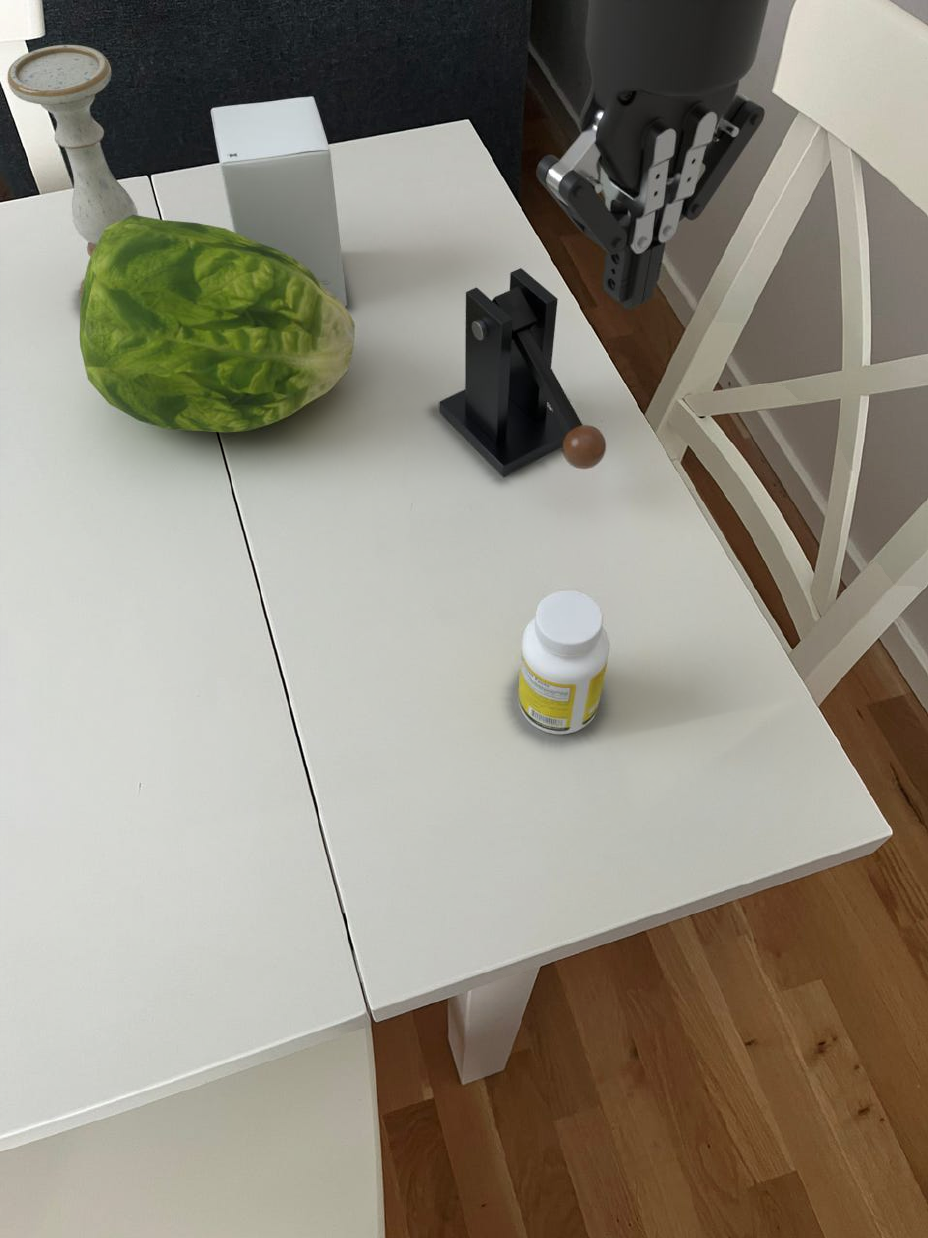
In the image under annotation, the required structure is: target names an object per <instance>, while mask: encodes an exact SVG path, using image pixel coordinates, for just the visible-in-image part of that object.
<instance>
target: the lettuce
mask: <svg viewBox="0 0 928 1238" xmlns="http://www.w3.org/2000/svg"><path fill="white" fill-rule="evenodd" d="M84 279H85V281H84V286H83V292H82V297H81V300H80V310H79V311H80V313H79V314H80V315H79V347H80V351H81V356H82V359H83V360H82V361H83V365H84V368H85V373H86V377H87V380H88V381H89V382H90V383H91V385H92V386H93V388H95V389H96V390H97V392H98V393H99V394H100V395H101V396H102V397H103V398H104V400H105V401H106V402H107V403H108V404H109V405H111V406H112V407H114V408H116V409H118V410H119V411H121V412H123V413H125V414H126V415H128V416H130V417H132V418H133V419H135V420H137V421H139V422H142V423H146V424H149V425H153V426H156V427H159V428H163V429H166V430H177V431H192V432H193V431H194V432H195V431H196V432H211V433H227V434H228V433H237V432H248V431H252V430H255V429H259V428H262V427H266V426H269V425H272V424H274V423H276V422H279V421H281V420H284V419H285V418H288V417H290V416H291V415H293V414H294V413H296V412H297V411H299V410H300V409H302V408H303V407H304V406H306V405H307V404H309V403H311V402H313V401H315V400H316V399H318V398H320V397H321V396H324V395H325V394H327V393H328V392H329V391H330V390H331V389H332V388H334V387H335V386H336V385H337V384H338V383H339V382H340V380H341V379H342V378H343V377H344V376H345V374H346V373H347V371H348V370H349V367H350V364H351V360H352V355H353V352H354V344H355V337H356V336H355V335H356V324H355V321H354V319H353V318H352V316H351V314H350V313H349V311H348V310H347V308H346V306H345V307H344V305H343V304H342V303H341V302H340V301H339V300H338V299H337V298H336V297H335V296H333V295H332V294H331V293H330V292H329V291H328V290H326V289H325V288H324V287H323V286H322V284H321V283H320V282H319V281H318V280H317V278H316V277H315V276H314V275H313V274H312V272H311V271H310V270H308V269H307V268H306V267H304V266H303V265H302V264H300V263H299V262H298V261H296V260H295V259H294V258H292V257H290V256H288V255H286V254H284V253H282V252H280V251H278V250H276V249H274V248H271V247H268V246H266V245H263V244H260V243H257V242H255V241H252V240H250V239H248V238H245V237H243V236H241V235H239V234H236V233H234V232H233V230H230V229H227V228H224V227H220V226H214V225H208V224H203V223H198V222H188V221H177V220H166V219H165V220H164V219H160V218H153V217H148V216H143V215H138V216H137V215H131V216H129V217H127V218H125V219H123V220H121V221H119V222H117V223H114V224H112V225H110V226H108V227H106V228H105V230H104V232H103V234H102V236H101V238H100V240H99V242H98V244H97V246H96V247H95V249H94V251H93V253H92V255H91V257H90V256H89V260H88V262H87V266H86V271H85V276H84Z"/></svg>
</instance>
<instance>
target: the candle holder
mask: <svg viewBox="0 0 928 1238" xmlns="http://www.w3.org/2000/svg"><path fill="white" fill-rule="evenodd" d="M112 75H113V70H112V67H111V63H110V62H109V60H108V59H107V57H106V56H105V55H104V54H103V53H102V52H100V50H97V49H95V48H93V47H89V46H85V45H78V44H58V45H50V46H45V47H42V48H37V49H35V50H31V51H30V52H27V53H25V54H23V55H21V56H19V58H17V59H15V60H14V61H13V62H12V63H11V65H10V67H8V71H7V84H8V87H9V90H10V91H11V92H12V93H13V95H14V96H15V97H17V98H19V99H20V100H22V101H25V102H27V103H32V104H35V105H36V104H37V105H40V107H41V108H43V109H44V110H45V111H47V112H49V113H50V114H51V115H53V117H54V119H55V120H56V128H55V132H54V135H53V136H54V141H55V143H56V144H57V145H58V146H60V147H62V148H63V149H64V150H65V152H66V154H67V157H68V162H69V165H70V168H71V172H72V176H73V177H72V178H73V193H72V198H71V199H72V200H71V218H72V223H73V226H74V228H75V230H76V231H77V232H78V234H79V235H80V236H81V237H82V238H83V239H84V240H85V241H87V242H88V243H87V246H86V251H87V252H86V253H87V254H88V257H89V258H90V257H91V255H92V253H93V251H94V249H95V247H96V246H97V244H98V242H99V240H100V238H101V236H102V234H103V232H104V230H105V228H106V227H108V226H110V225H112V224H114V223H117V222H119V221H121V220H123V219H125V218H127V217H129V216H131V215H137V216H139V211H138V207H137V206H136V203H135V202H134V200H133V198H132V197H131V195H130V193H128V191H126V189H125V188H124V187H123V186H122V185H121V184H120V183H119V181H118V180H117V179H116V177H115V176H114V174H113V173H112V171H111V169H110V167H109V165H108V162H107V160H106V157H105V154H104V151H103V148H102V143H101V140H102V139H103V138H104V135H105V130H104V128H103V127H102V125H100V124H99V123H98V122H97V121H96V120H95V119H94V118H93V116H92V114H91V106H92V104H93V102H94V101H95V98H96V94H98V93H99V92H101V91H103V90H104V89H105V88H106V87H108V84H109V83H110V82H111V80H112ZM84 281H85V278H84V279H83V280H82V281H81V284H80V286H79V289H78V296H79V300H80V301H81V297H82V292H83V286H84Z"/></svg>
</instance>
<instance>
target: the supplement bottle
mask: <svg viewBox="0 0 928 1238" xmlns="http://www.w3.org/2000/svg"><path fill="white" fill-rule="evenodd" d="M603 625H604V614H603V612H602V609H601V607H600V605H599V604H598V602H597V601H596V600H595V599H594V598H592V597H591V596H590V595H588V594H586V593H584V592H581V591H579V590H573V589H562V590H557V591H554V592H551V593H550V594H548V595H547V596H545V597H544V598H543V599H542V600H541V601H540V602H539V604H538V605H537V609H536V611H535V617H533V618H531V620H530V621H529V623H528V624H527V626H526V627H525V630H524V631H523V635H522V641H521V649H520V650H521V651H520V661H519V677H518V678H519V679H518V704H519V708H520V711H521V713H522V714H523V715H524V718H525V719H526V721H528V722H529V723H530V725H533V727H535V728H536V729H538V730H540V731H543V732H545V733H547V734H548V733H549V734H553V735H567V734H572V733H576V732H579V731H580V730H582V729H583V728H585V727H586V726H588V725H589V724H590V723H591V722H592V720H594V718H595V716H596V714H597V712H598V709H599V706H600V701H601V695H602V691H603V687H604V686H603V685H604V681H605V676H606V671H607V666H608V662H609V656H610V640H609V635H608V633H607V631H606V629H605V628H604V626H603Z"/></svg>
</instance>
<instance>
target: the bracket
mask: <svg viewBox="0 0 928 1238" xmlns="http://www.w3.org/2000/svg"><path fill="white" fill-rule="evenodd" d="M509 274H510V276H509V290H512V289H514V288H516V287H519V288H520V290H521V291H522V293H523V295H524V297H525V299H526V300H527V302H528V304H529V306H530V308H531V309H532V311H533V313H534V315H535V316H536V318H537V321H536V322H535V323H534V325H533V326H532V327H531V328H530V332H531V334H532V335H533V337H534V339H535V341H536V343H537V344H538V346H539V348H540V350H541V351H542V353H543V355H544V357H545V359H546V360H547V362H548V364H549V366H550V367H551V368H552V362H553V352H554V341H555V332H556V320H557V311H558V301H559V299H558V297H557V296H555V295H554V294H553V293H552V292H551V291H549V290H548V289H547V288H546V287H545V286H544V285H542V284H541V283H540V282H539V281H537V280H536V279H535V278H534V277H532V276H531V275H530V274H529V273H528V272H527V271H525V270H524V269H523V268H522V267H520V268H517V269H516V270H513V271H511V272H510V273H509ZM492 300H493V299H490V297H489V296H487V295H486V294H485V293H484V292H483V291H481V290H480V289H479V288H478V287H476V286H475V287H474V288H472V289H469V290H467V291H465V336H464V337H465V349H464V350H465V352H464V353H465V354H464V355H465V356H464V357H465V358H464V360H465V361H464V363H465V364H464V365H465V367H464V370H465V371H464V389H463V390H460V391H458V392H456V393H454V394H452V395H450V396H447V397H445V398H443V399H441V400H439V402H438V409H439V413H440V414H441V415H442V416H443V418H445V419H446V421H448V423H449V424H450V425H451V426H452V427H453V428H454V429H456V431H457V432H458V433H459V434H460V435H461V436H462V437H463V438H464V439H465V440H466V441H467V442H468V443H469V444H470V445H471V446H472V447H473V448H474V449H475V450H476V451H477V452H478V453H479V454H480V455H481V456H482V457H483V459H485V460H486V462H488V463H489V464H490V466H492V467H493V469H495V470H496V472H497V473H498V474H499V475H500V476H501V477H505V476H508V475H509V474H511V473H513V472H515V471H517V470H519V469H521V468H523V467H525V466H527V465H529V464H531V463H533V462H535V461H537V460H538V459H540V458H542V457H544V456H546V455H548V454H550V453H552V452H554V451H556V450H557V449H560V448H562V444H563V440H564V438H565V436H566V434H565V432H564V430H563V428H562V426H561V425H560V423H559V421H558V419H557V417H556V416H555V414H554V412H553V410H552V409H551V408H549V406H548V405H549V403H548V401H547V400H546V398H545V396H544V394H543V393H542V391H541V389H540V387H539V385H538V384H537V382H536V380H535V378H534V377H533V375H532V373H531V371H530V369H529V368H528V366H527V364H526V362H525V360H524V359H523V357H522V355H521V353H520V352H519V350H518V348H517V346H516V344H515V343H514V341H513V340H512V341H511V339H512V321H513V320H512V318H511V317H510V316H508V315H507V314H506V313H505V312H504V311H503V310H502V309H501V308H499V307H498V306H497V305H496V304H495V303H494V302H493V301H492Z"/></svg>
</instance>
